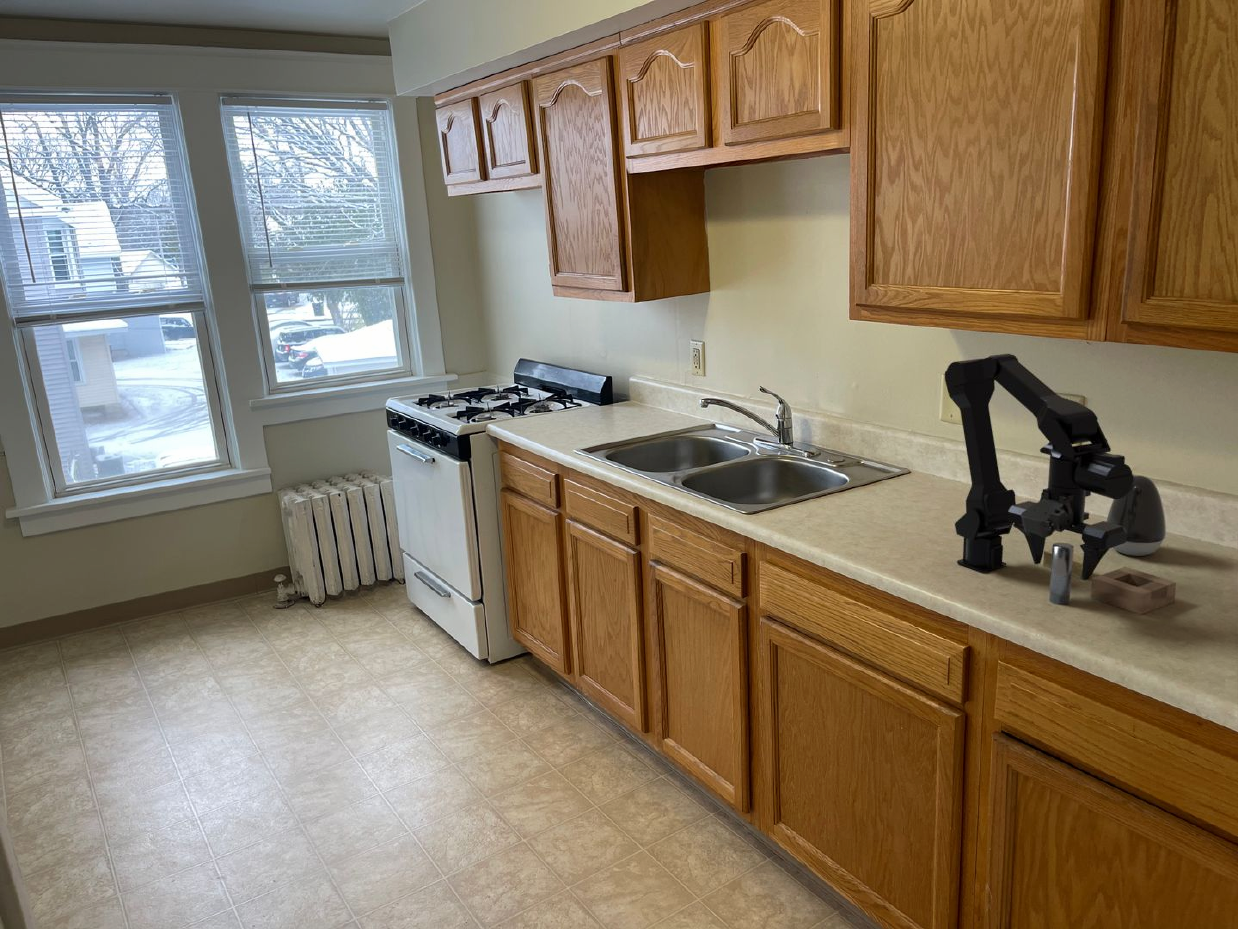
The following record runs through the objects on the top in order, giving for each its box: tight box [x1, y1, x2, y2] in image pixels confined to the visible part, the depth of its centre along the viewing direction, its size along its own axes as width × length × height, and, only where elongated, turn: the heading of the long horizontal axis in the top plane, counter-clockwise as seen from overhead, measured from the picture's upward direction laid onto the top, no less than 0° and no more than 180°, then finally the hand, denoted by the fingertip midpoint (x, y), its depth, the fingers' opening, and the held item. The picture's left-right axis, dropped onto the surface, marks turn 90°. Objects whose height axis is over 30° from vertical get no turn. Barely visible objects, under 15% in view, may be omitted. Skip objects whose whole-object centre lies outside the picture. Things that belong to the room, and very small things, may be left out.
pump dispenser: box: [1105, 475, 1167, 557], centre depth 175 cm, size 10×10×15 cm
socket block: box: [1090, 566, 1177, 615], centre depth 156 cm, size 9×9×4 cm
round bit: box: [1048, 542, 1075, 606], centre depth 156 cm, size 3×3×10 cm
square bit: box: [1042, 548, 1094, 580], centre depth 169 cm, size 8×3×3 cm, turn 26°
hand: (1060, 571), depth 156 cm, fingers open, 9 cm apart
